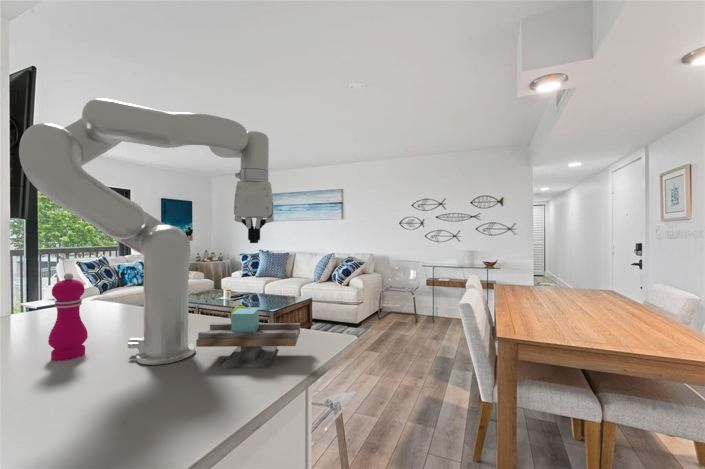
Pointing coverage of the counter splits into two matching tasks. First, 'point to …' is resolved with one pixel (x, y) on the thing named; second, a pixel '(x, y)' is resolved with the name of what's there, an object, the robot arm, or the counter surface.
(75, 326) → the pepper mill
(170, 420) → the counter surface
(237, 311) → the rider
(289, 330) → the wooden tray
